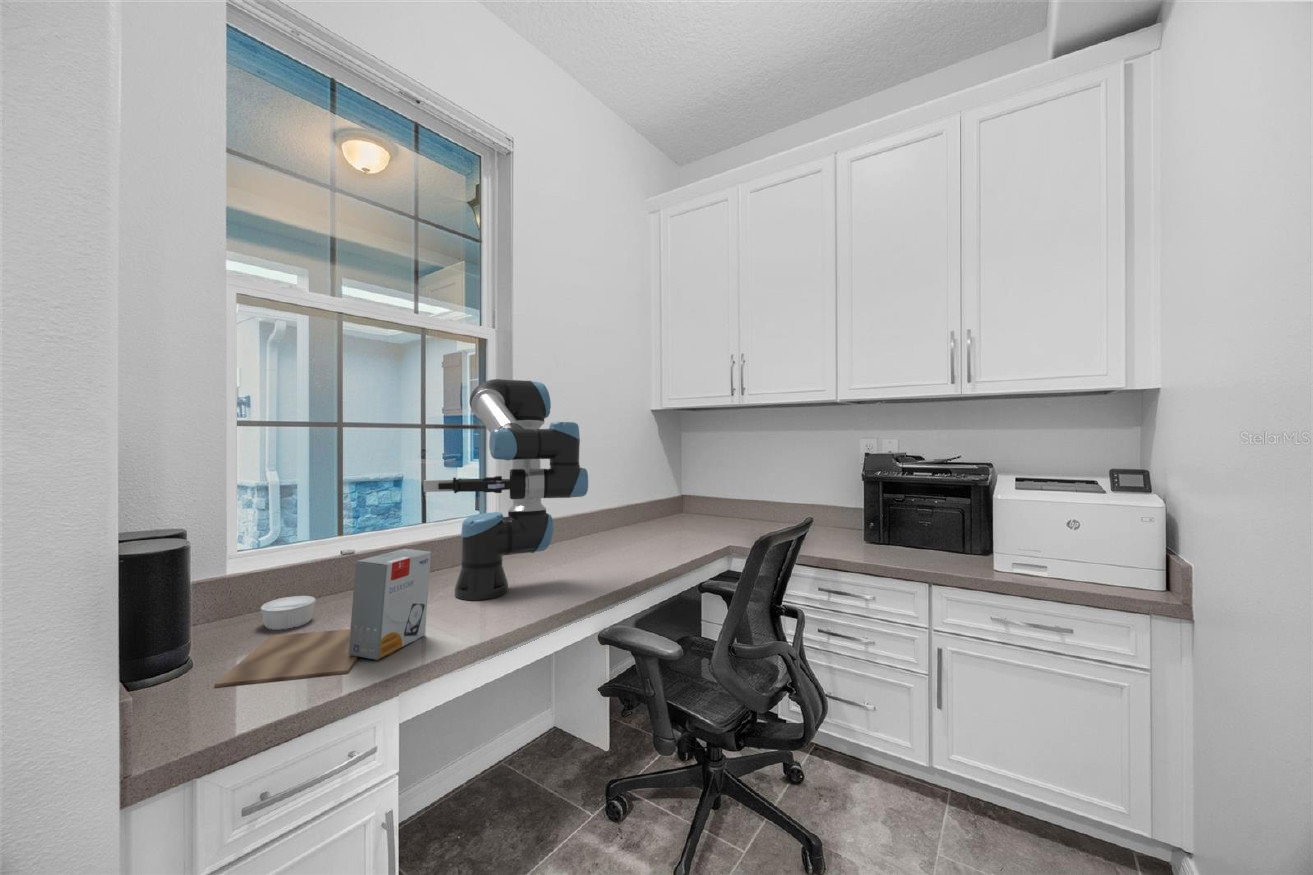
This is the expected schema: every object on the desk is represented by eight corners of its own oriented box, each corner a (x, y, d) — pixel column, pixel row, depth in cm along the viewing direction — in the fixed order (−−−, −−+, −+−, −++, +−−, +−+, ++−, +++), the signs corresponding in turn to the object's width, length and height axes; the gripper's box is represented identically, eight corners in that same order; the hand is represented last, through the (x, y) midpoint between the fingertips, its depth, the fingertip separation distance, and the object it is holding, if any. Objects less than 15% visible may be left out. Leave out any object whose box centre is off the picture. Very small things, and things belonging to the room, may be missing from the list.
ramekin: (270, 635, 121) (270, 613, 121) (252, 625, 127) (253, 604, 127) (323, 622, 130) (323, 601, 130) (304, 612, 136) (304, 593, 136)
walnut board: (377, 629, 125) (377, 626, 125) (348, 673, 102) (348, 670, 102) (271, 638, 119) (271, 635, 119) (214, 687, 96) (214, 684, 96)
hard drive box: (378, 661, 107) (384, 564, 107) (346, 656, 108) (352, 560, 108) (426, 635, 122) (432, 550, 122) (398, 630, 123) (403, 547, 124)
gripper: (526, 501, 124) (419, 504, 117) (525, 496, 136) (428, 498, 130) (526, 470, 124) (419, 471, 117) (525, 467, 136) (428, 469, 130)
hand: (424, 486), depth 124 cm, fingers closed
